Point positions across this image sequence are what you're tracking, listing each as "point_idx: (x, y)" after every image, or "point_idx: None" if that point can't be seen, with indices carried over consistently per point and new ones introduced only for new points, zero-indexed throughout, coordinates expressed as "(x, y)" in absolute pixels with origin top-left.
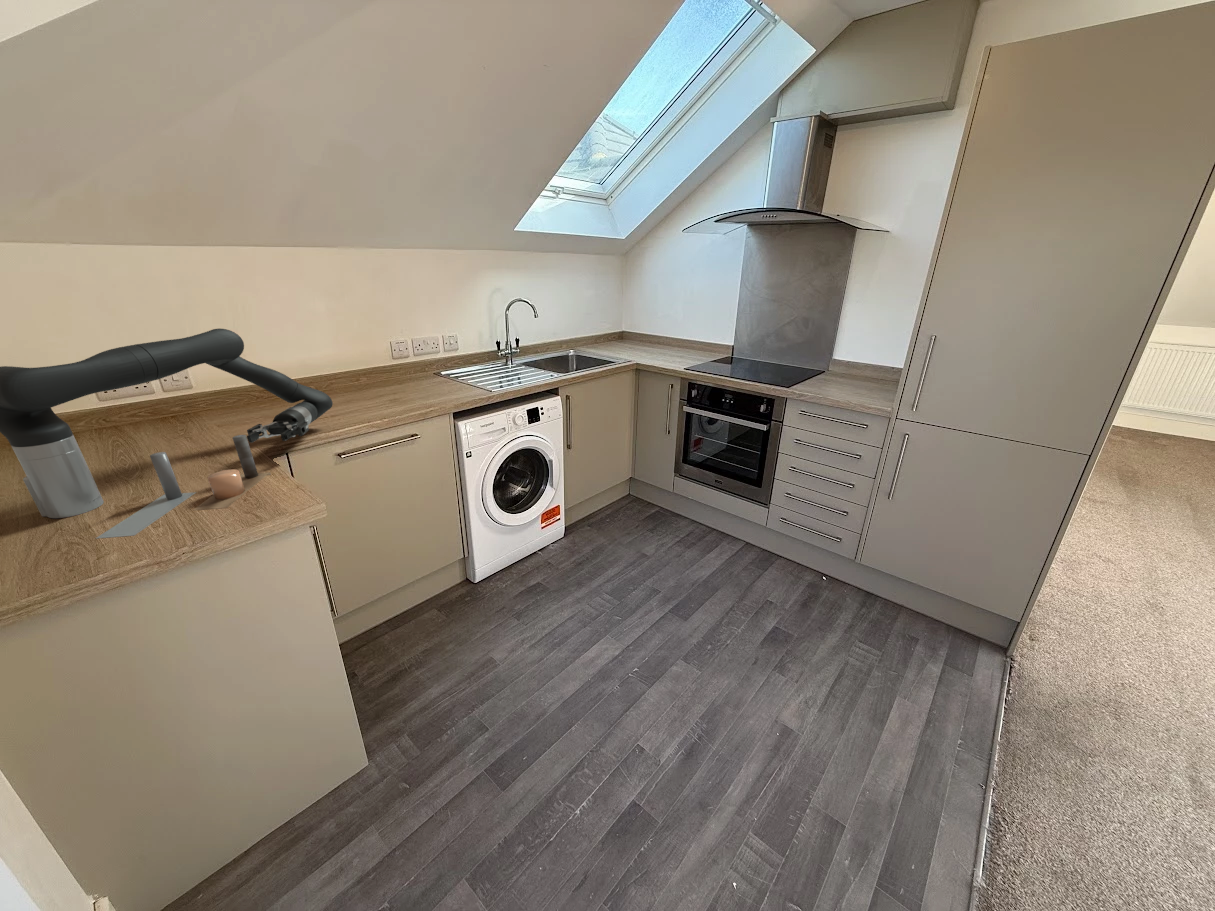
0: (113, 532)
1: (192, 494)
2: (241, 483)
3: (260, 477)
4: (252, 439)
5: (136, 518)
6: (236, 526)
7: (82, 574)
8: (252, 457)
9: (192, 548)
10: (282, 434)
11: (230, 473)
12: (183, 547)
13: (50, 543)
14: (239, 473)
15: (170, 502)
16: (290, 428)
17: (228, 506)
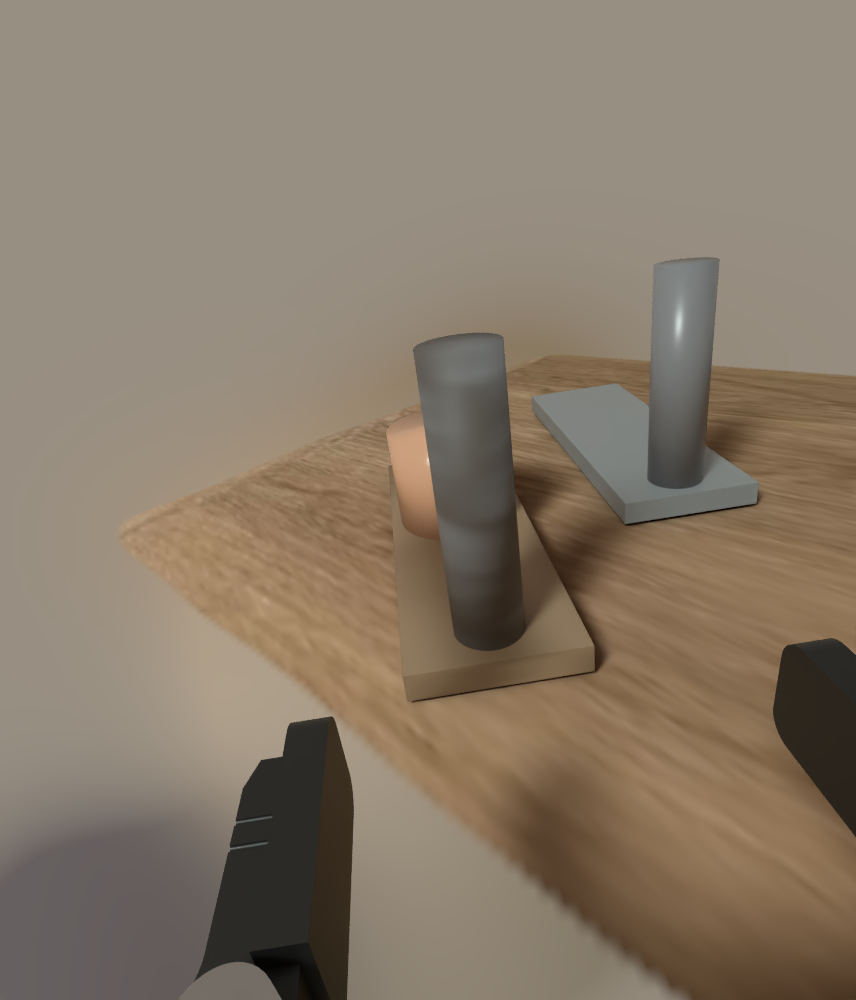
0: (601, 393)
1: (619, 493)
2: (395, 485)
3: (420, 619)
4: (802, 724)
5: (626, 416)
6: (323, 460)
7: (520, 377)
8: (438, 520)
9: (374, 420)
10: (308, 722)
11: (420, 431)
12: (397, 418)
13: (749, 388)
14: (393, 449)
15: (636, 460)
16: (223, 994)
17: (389, 471)
